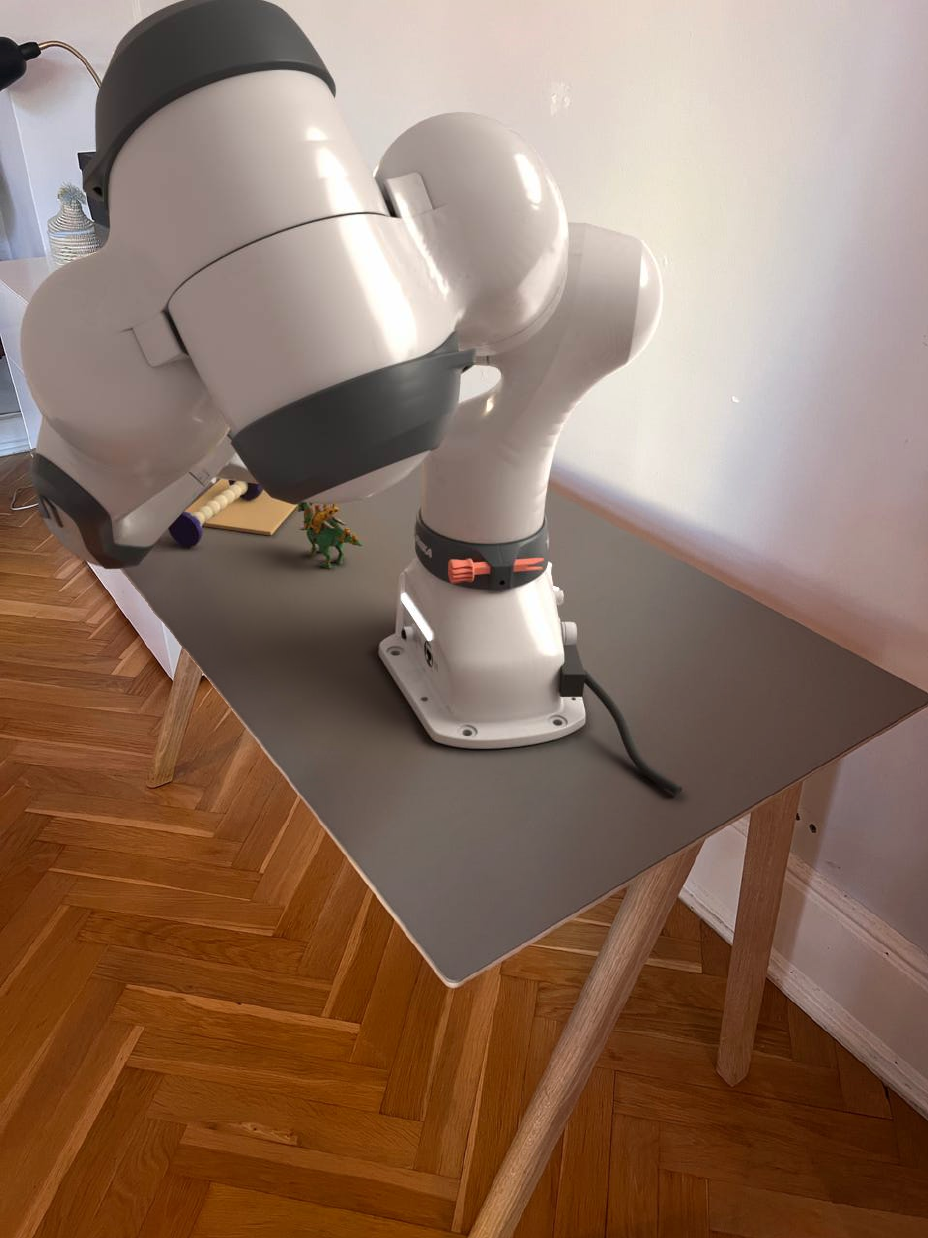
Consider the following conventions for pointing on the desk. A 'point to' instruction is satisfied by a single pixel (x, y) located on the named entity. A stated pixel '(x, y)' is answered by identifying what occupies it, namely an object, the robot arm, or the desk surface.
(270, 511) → the wooden board
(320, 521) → the figurine
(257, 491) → the toy lamp
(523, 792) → the desk surface
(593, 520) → the desk surface
